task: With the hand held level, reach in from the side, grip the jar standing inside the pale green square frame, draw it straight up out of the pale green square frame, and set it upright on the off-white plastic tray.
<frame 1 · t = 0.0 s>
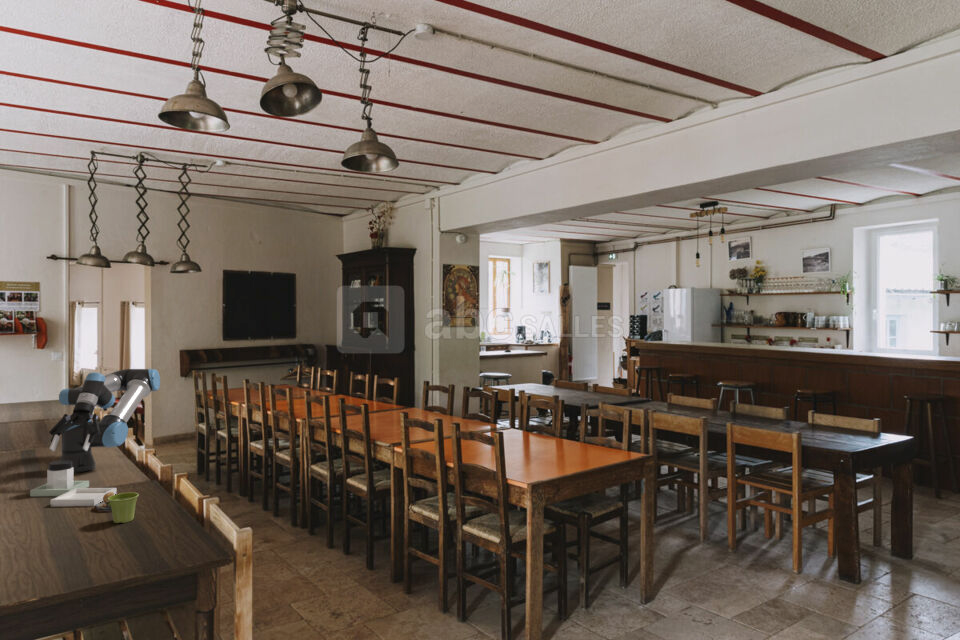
hand: (68, 450, 263), 15 cm above the table, tool tilted 35°, fingers open, 13 cm apart
plant pot: (123, 521, 219), on the table
tray: (84, 500, 243), on the table
jar: (60, 491, 255), resting in pale green square frame
pale green square frame: (60, 491, 255), on the table
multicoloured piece: (112, 508, 234), on the table
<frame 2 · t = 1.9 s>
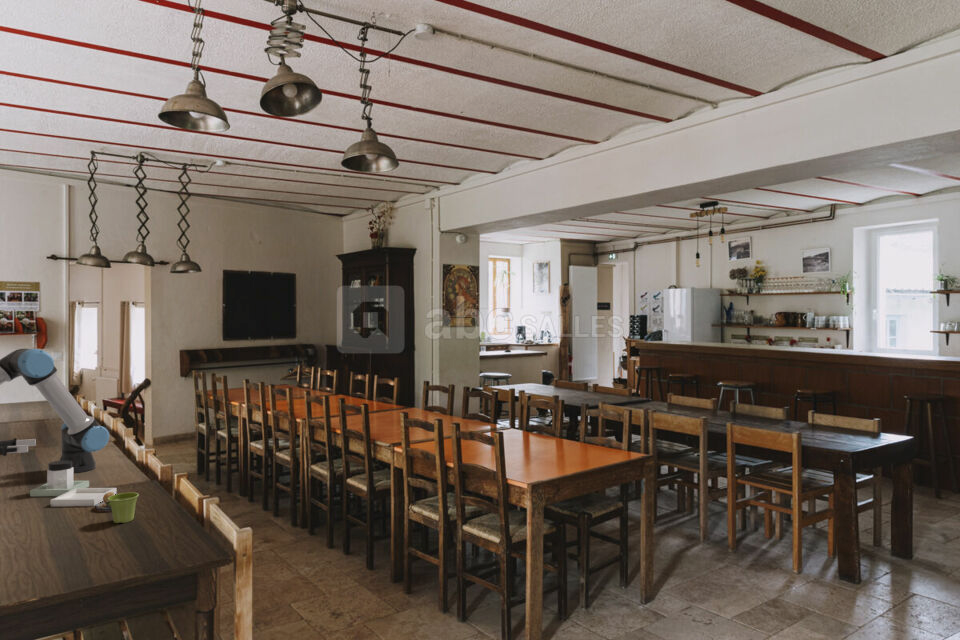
hand: (31, 445, 251), 20 cm above the table, tool horizontal, fingers open, 13 cm apart
nothing on the table moved.
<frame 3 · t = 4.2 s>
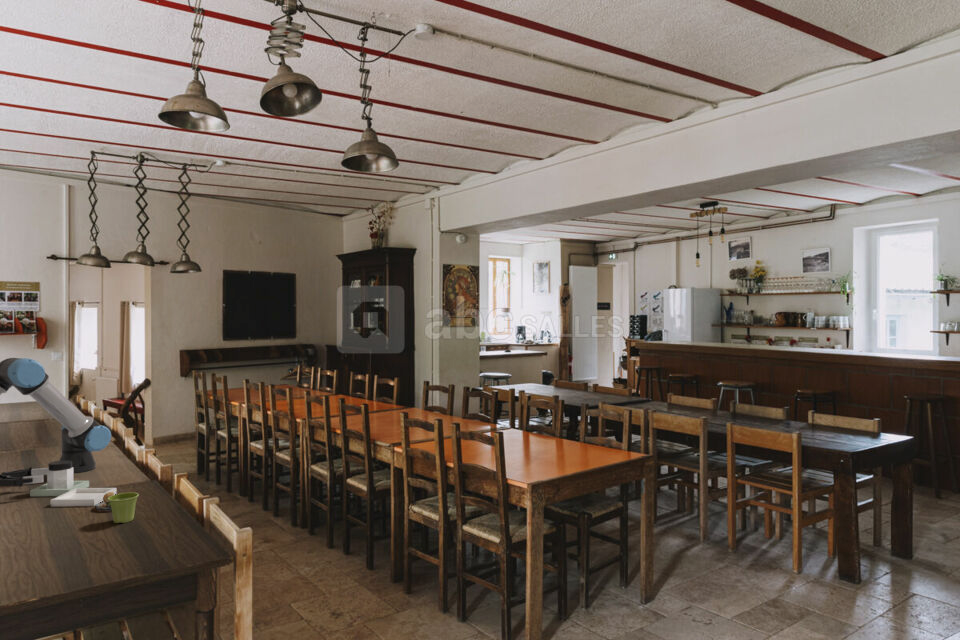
hand: (47, 474, 253), 7 cm above the table, tool horizontal, fingers open, 13 cm apart
nothing on the table moved.
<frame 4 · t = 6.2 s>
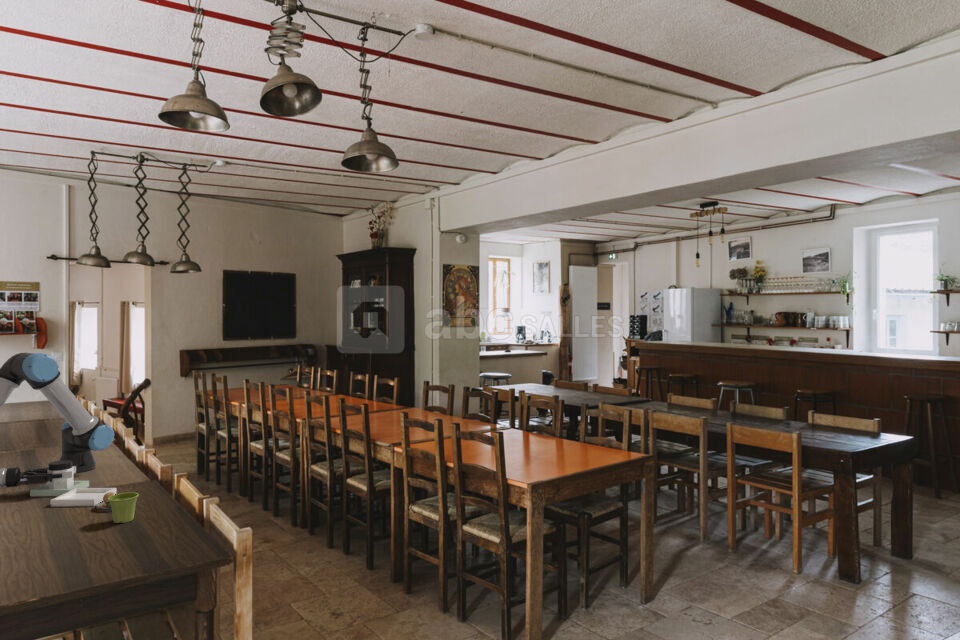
hand: (74, 471, 257), 8 cm above the table, tool horizontal, fingers closed on jar, 8 cm apart
jar: (60, 491, 255), resting in pale green square frame, touching gripper
everything else where it was.
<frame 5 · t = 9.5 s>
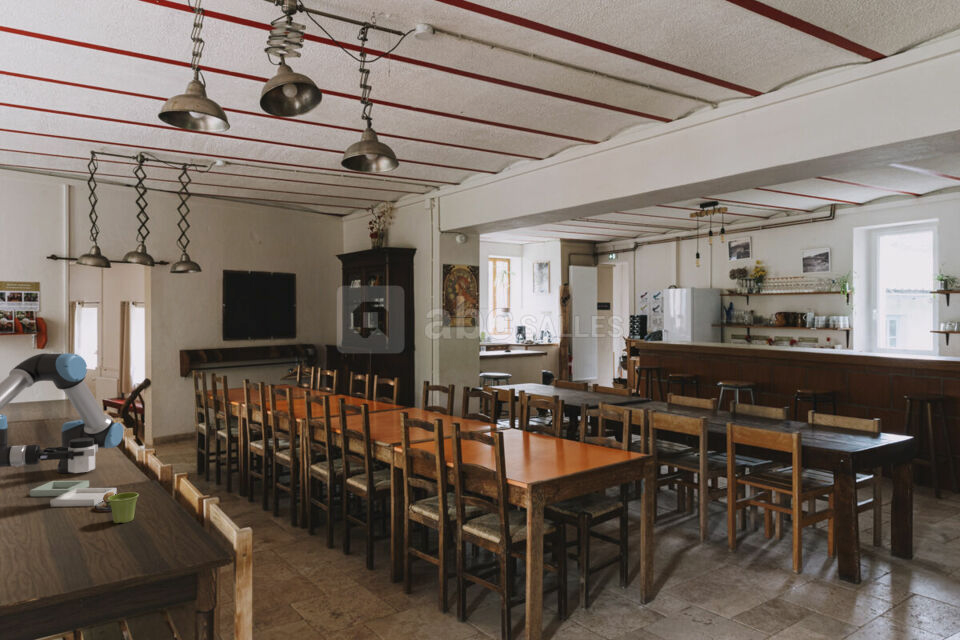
hand: (95, 450, 245), 19 cm above the table, tool horizontal, fingers closed on jar, 8 cm apart
jar: (81, 470, 243), point 12 cm above the table, touching gripper
everything else where it was.
when the fingers open (10 cm above the table, at t = 12.6 s): jar drops 1 cm, resting on tray.
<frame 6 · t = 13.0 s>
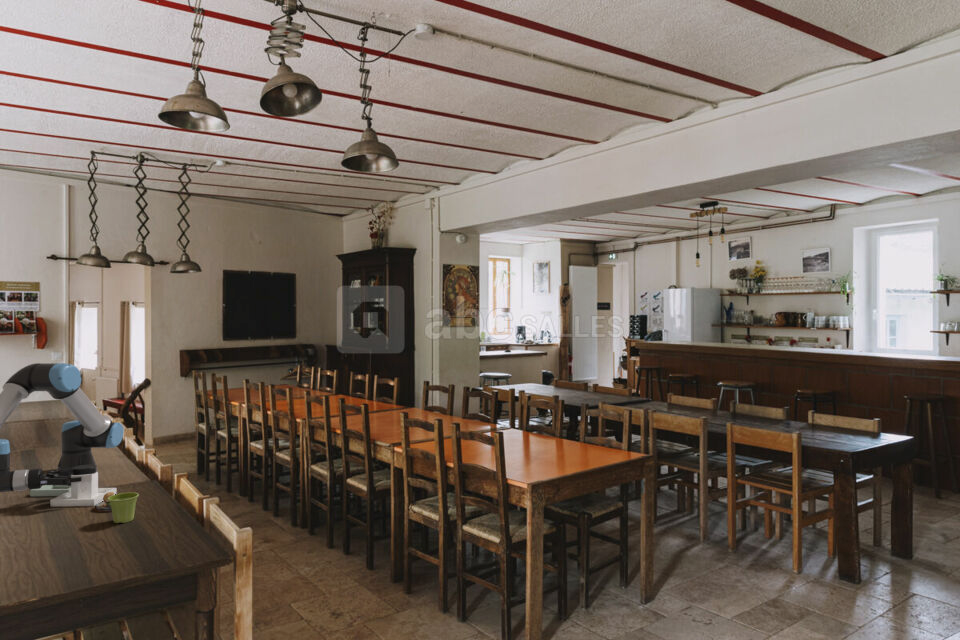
hand: (94, 473, 245), 10 cm above the table, tool horizontal, fingers open, 13 cm apart
jar: (84, 497, 243), point 1 cm above the table, touching tray
everything else where it was.
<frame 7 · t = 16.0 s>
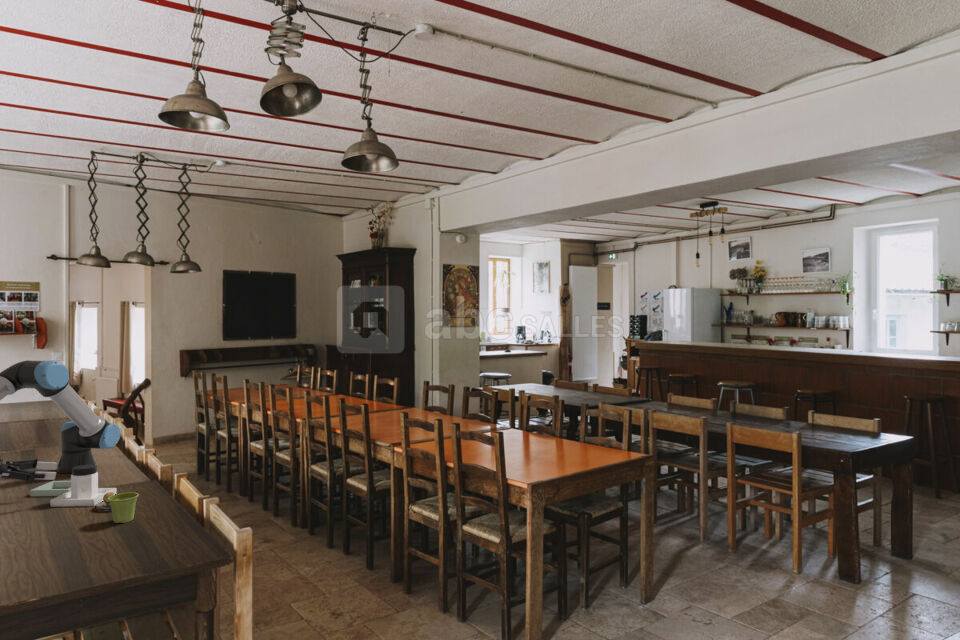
hand: (56, 470, 242), 12 cm above the table, tool horizontal, fingers open, 13 cm apart
nothing on the table moved.
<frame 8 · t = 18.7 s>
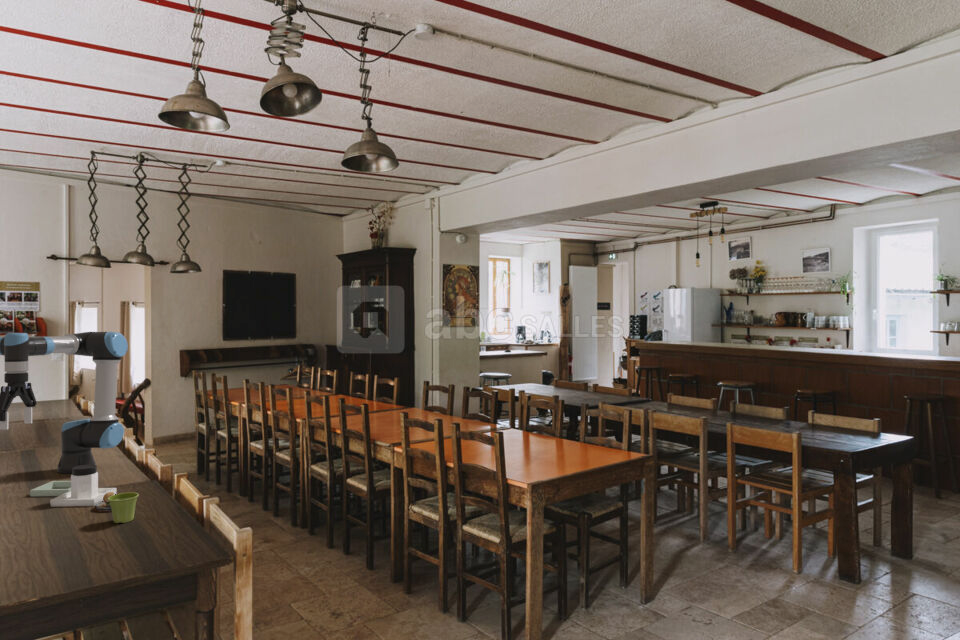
hand: (16, 426, 244), 29 cm above the table, tool pointing down, fingers open, 13 cm apart
nothing on the table moved.
at the end: jar inside the target area on the tray (0.2 cm from its centre), point 0.8 cm above the tray's base; jar tilted 0°; the gripper is holding nothing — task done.
